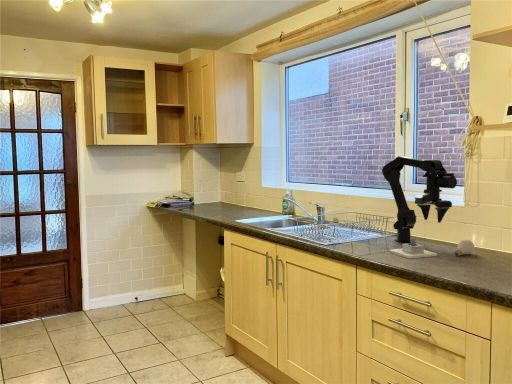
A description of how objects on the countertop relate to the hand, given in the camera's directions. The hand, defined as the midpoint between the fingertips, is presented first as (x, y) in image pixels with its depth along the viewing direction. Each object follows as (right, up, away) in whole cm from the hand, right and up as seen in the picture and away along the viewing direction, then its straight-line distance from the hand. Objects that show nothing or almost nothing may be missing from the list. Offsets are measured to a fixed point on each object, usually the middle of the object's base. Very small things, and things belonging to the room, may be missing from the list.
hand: (432, 221), depth 212 cm
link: (-13, -12, -13) cm, 22 cm away
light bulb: (+7, -14, -15) cm, 22 cm away
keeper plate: (-13, -13, -13) cm, 23 cm away
